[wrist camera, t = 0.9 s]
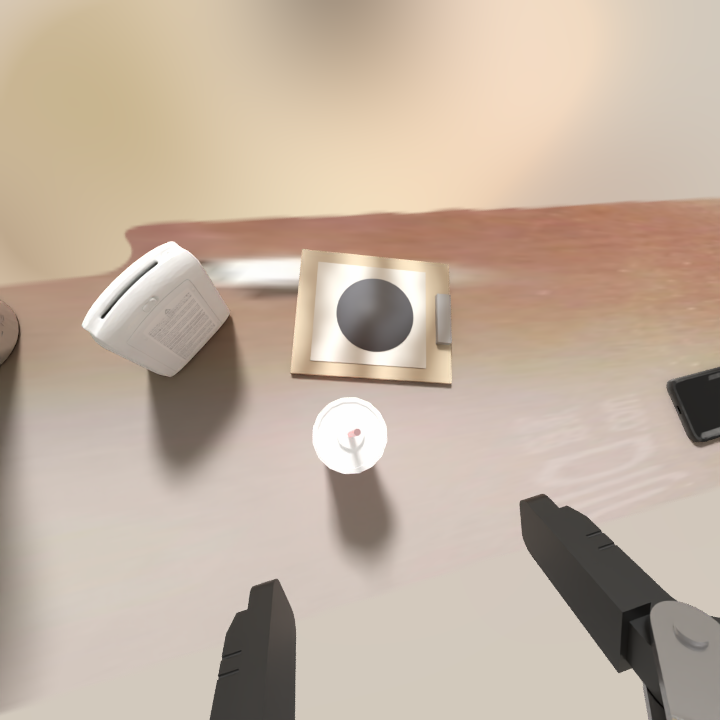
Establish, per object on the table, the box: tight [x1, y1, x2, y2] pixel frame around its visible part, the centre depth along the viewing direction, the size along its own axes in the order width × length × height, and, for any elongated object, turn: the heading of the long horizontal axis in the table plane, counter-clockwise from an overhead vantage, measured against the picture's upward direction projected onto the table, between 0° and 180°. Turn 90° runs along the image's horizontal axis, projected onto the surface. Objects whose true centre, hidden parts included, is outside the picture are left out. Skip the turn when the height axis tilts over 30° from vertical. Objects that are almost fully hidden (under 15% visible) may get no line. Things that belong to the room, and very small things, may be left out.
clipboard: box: [290, 249, 452, 384], centre depth 39 cm, size 18×15×1 cm
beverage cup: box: [313, 397, 387, 474], centre depth 29 cm, size 6×6×14 cm
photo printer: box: [82, 242, 230, 377], centre depth 31 cm, size 10×4×12 cm, turn 145°
